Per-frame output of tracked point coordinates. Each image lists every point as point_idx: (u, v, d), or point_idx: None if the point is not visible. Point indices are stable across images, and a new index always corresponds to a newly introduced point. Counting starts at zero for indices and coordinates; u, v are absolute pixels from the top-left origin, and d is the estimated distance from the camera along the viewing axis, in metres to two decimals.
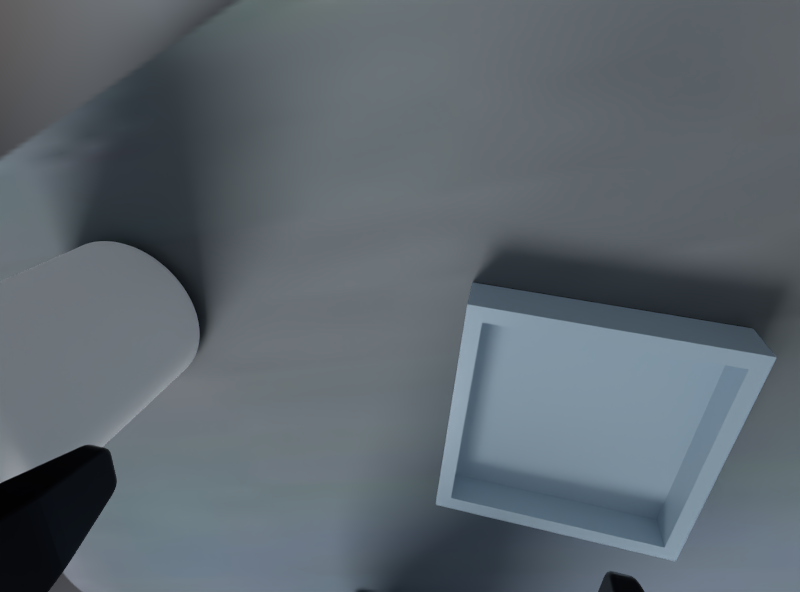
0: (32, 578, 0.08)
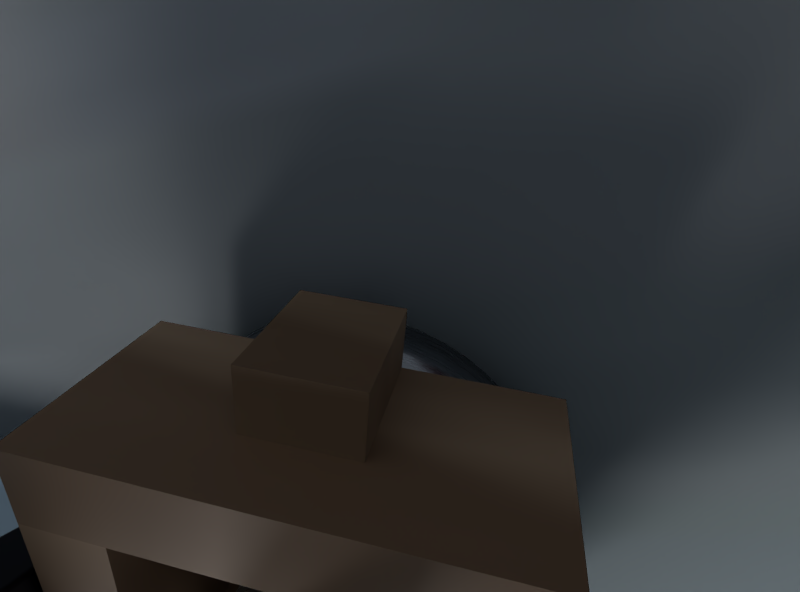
0: None
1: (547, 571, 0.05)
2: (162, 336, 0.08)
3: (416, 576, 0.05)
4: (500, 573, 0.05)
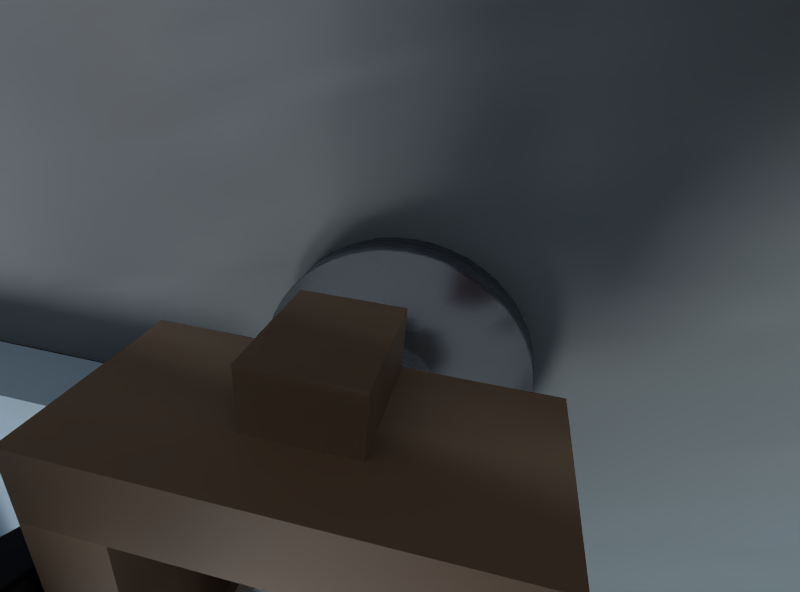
0: None
1: (547, 570, 0.05)
2: (163, 336, 0.08)
3: (416, 575, 0.05)
4: (500, 572, 0.05)
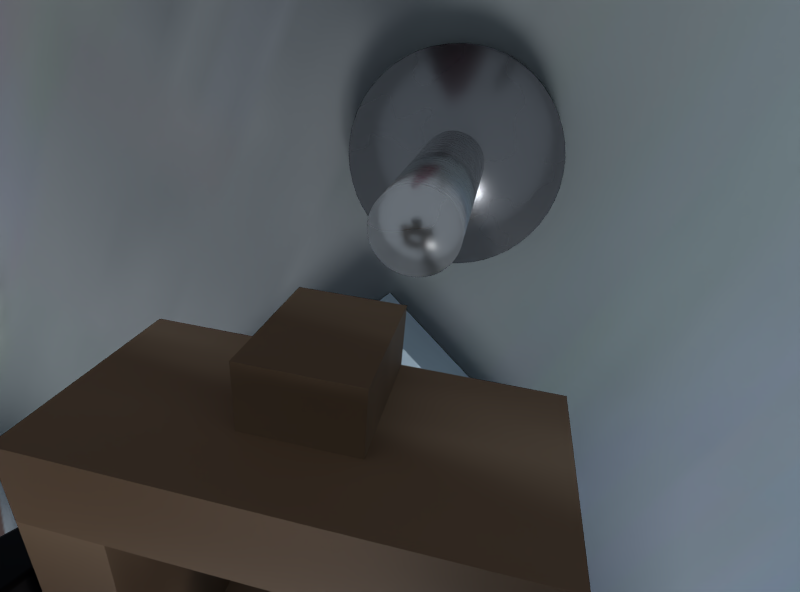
0: None
1: (547, 567, 0.05)
2: (161, 334, 0.08)
3: (415, 572, 0.05)
4: (500, 569, 0.05)
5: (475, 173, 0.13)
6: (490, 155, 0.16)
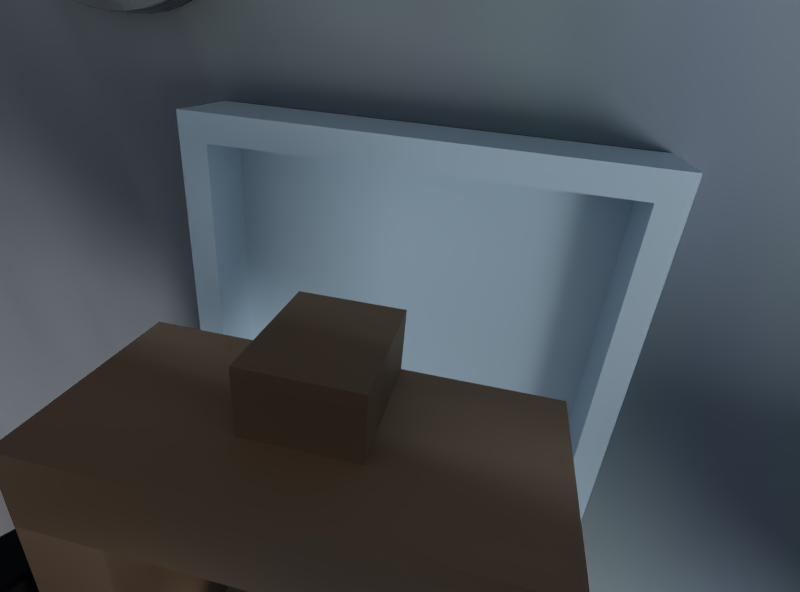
0: None
1: (547, 575, 0.05)
2: (161, 337, 0.08)
3: (415, 579, 0.05)
4: (500, 577, 0.05)
5: None
6: None
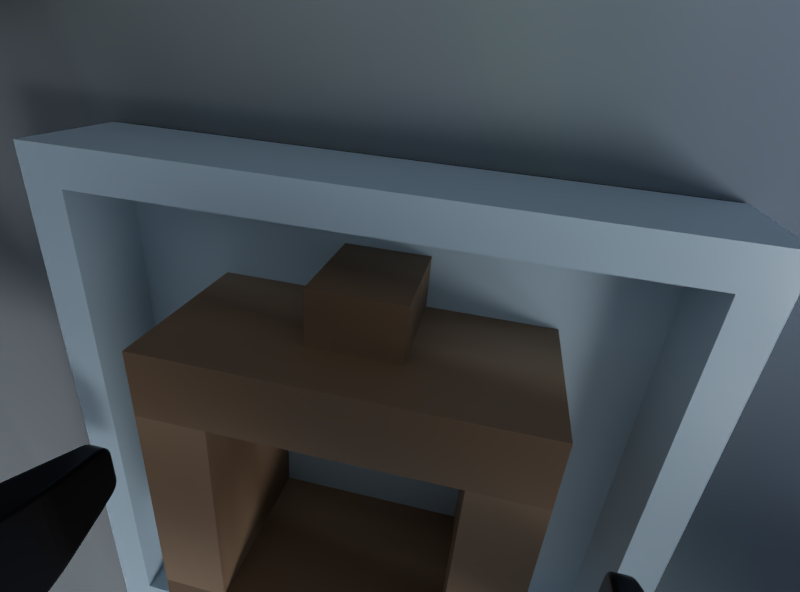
0: (32, 578, 0.08)
1: (542, 428, 0.07)
2: (231, 282, 0.10)
3: (446, 434, 0.07)
4: (508, 428, 0.07)
5: None
6: None
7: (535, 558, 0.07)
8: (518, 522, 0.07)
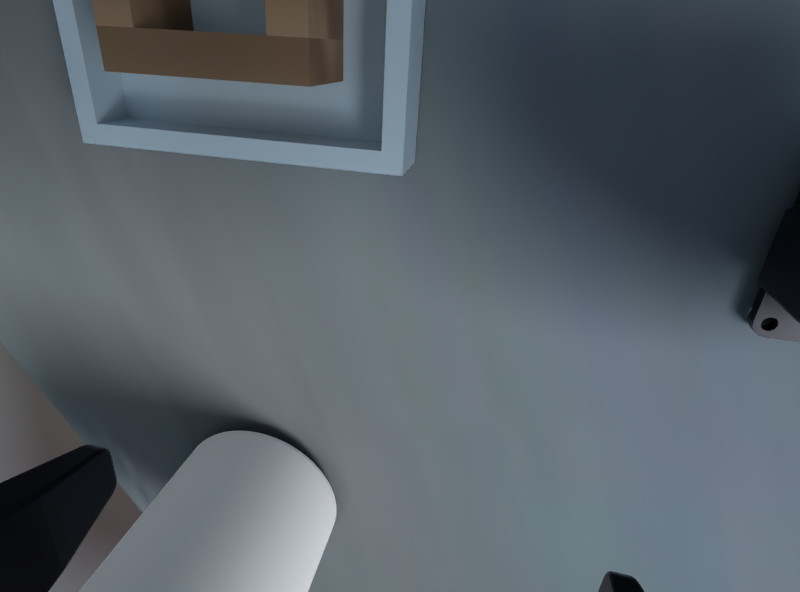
0: (32, 578, 0.08)
1: None
2: None
3: None
4: None
5: None
6: None
7: None
8: None
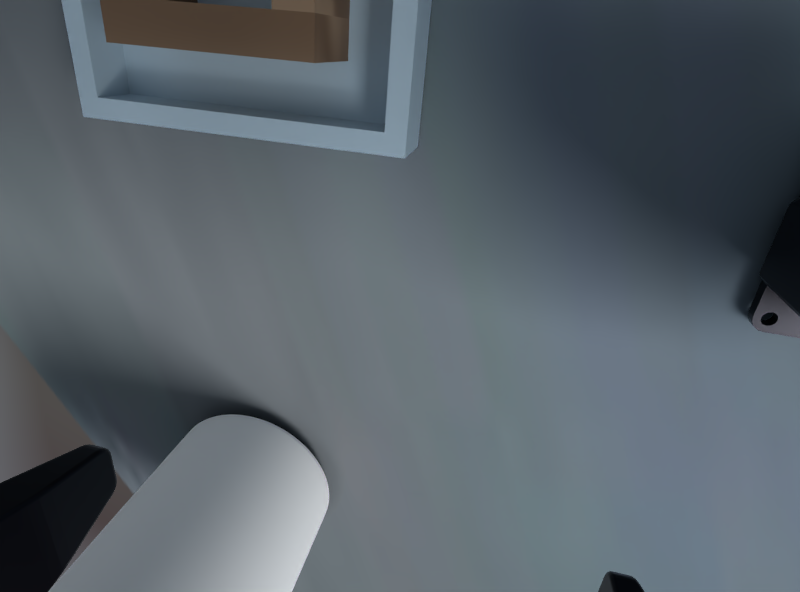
0: (32, 578, 0.08)
1: None
2: None
3: None
4: None
5: None
6: None
7: None
8: None
